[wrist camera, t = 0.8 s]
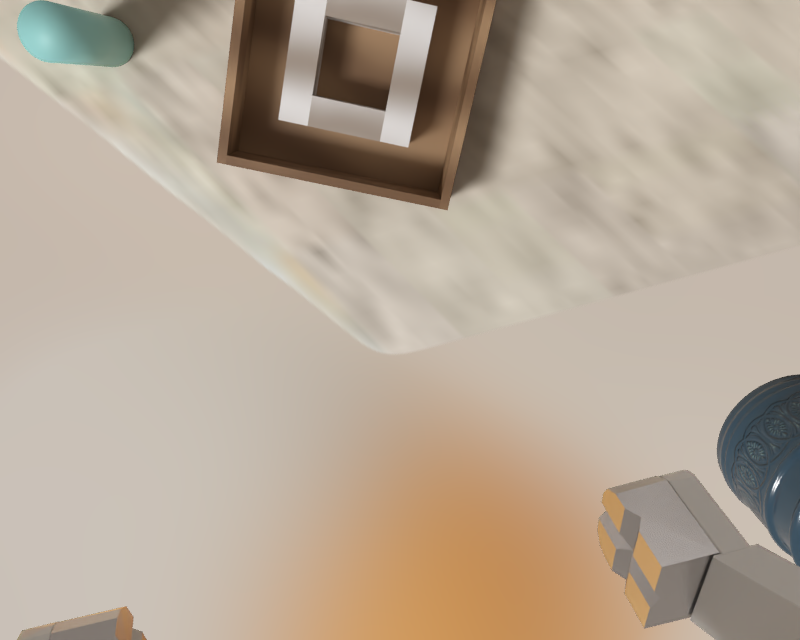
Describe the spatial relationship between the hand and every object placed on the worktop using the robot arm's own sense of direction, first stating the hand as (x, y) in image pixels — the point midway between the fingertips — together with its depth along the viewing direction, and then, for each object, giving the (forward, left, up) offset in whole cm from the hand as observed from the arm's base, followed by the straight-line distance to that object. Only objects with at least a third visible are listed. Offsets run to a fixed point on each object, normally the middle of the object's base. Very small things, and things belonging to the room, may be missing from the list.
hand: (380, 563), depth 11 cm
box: (-8, -4, -40) cm, 41 cm away
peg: (-6, -21, -40) cm, 46 cm away
